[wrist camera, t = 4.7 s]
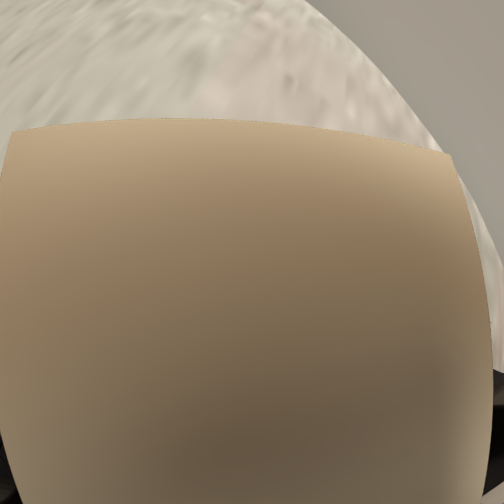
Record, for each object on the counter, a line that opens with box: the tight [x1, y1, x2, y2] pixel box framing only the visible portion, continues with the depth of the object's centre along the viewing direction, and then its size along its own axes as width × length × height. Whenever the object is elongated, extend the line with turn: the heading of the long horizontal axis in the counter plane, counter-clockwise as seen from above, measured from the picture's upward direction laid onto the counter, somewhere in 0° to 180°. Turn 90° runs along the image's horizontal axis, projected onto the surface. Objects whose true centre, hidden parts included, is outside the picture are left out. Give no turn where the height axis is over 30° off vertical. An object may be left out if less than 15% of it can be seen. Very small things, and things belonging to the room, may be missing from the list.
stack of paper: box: [0, 118, 493, 504], centre depth 8 cm, size 6×6×12 cm
